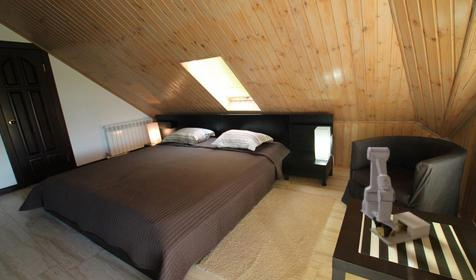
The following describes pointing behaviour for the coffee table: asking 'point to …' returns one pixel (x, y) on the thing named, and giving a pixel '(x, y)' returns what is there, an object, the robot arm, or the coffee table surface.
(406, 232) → the housing
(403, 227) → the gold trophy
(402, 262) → the coffee table surface
